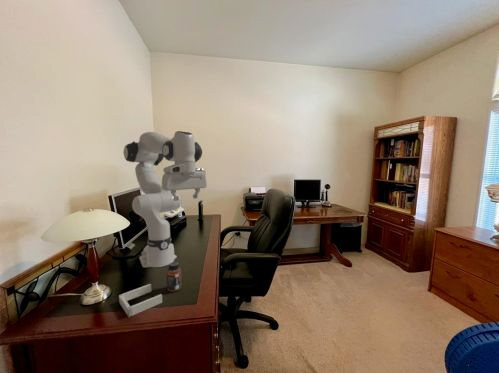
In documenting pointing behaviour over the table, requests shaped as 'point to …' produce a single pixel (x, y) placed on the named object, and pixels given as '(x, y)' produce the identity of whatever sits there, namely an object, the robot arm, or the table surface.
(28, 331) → the table surface
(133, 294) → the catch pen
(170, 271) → the supplement bottle
